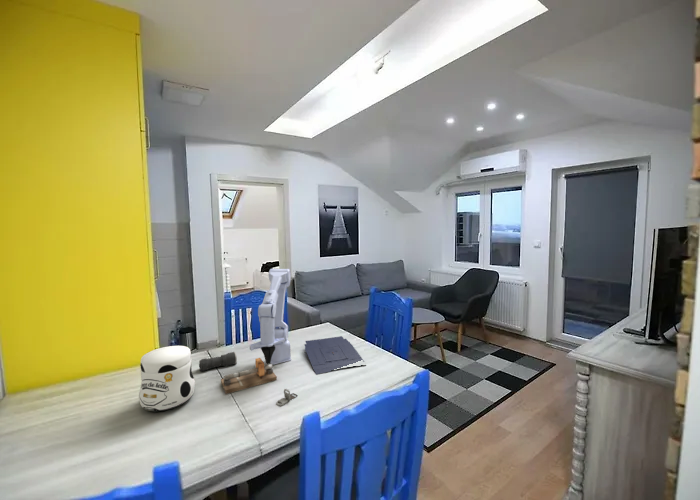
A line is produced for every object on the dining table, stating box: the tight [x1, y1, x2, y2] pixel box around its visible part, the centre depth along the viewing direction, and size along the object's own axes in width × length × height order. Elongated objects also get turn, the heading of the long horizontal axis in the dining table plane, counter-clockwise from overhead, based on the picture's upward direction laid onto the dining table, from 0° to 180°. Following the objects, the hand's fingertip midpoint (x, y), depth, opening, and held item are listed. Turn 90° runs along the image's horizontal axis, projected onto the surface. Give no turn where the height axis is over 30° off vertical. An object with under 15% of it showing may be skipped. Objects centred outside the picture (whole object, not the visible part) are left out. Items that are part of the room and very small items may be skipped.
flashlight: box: [198, 351, 238, 372], centre depth 136 cm, size 15×5×5 cm, turn 123°
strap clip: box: [275, 388, 298, 407], centre depth 110 cm, size 8×3×4 cm, turn 144°
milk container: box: [138, 345, 196, 413], centre depth 108 cm, size 17×17×18 cm
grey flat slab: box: [303, 335, 364, 375], centre depth 147 cm, size 24×30×4 cm
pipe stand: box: [220, 363, 278, 395], centre depth 123 cm, size 20×10×5 cm, turn 123°
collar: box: [255, 357, 265, 377], centre depth 125 cm, size 2×6×5 cm, turn 32°
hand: (268, 362), depth 127 cm, fingers closed
